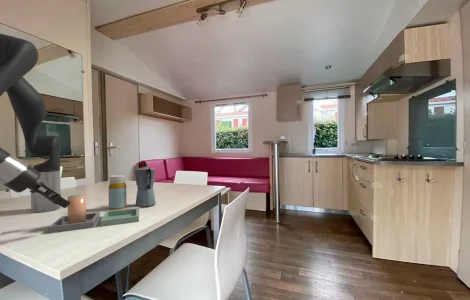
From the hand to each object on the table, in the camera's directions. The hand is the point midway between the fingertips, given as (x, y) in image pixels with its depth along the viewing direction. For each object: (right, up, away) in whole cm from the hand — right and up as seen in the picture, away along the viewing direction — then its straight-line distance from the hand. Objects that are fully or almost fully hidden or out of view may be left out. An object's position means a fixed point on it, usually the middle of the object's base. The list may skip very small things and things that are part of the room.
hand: (63, 203), depth 72 cm
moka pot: (+16, -8, +30) cm, 35 cm away
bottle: (+5, -9, +24) cm, 26 cm away
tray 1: (+2, -9, +3) cm, 10 cm away
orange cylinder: (+2, -8, +3) cm, 9 cm away
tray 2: (+15, -9, +9) cm, 20 cm away
